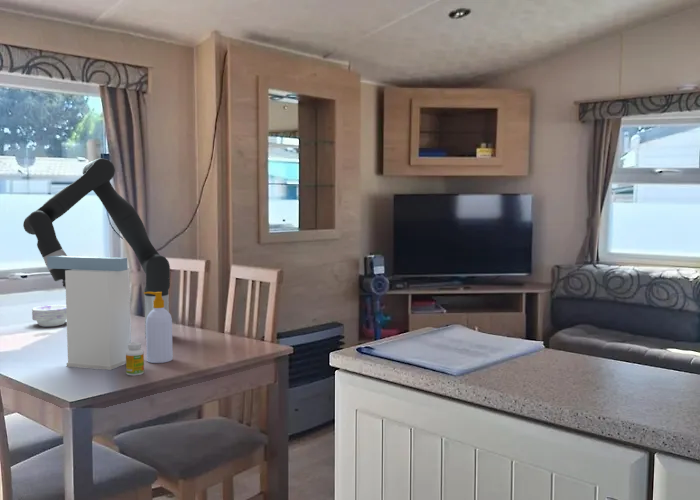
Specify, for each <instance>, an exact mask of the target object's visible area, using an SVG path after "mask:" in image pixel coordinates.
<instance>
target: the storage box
mask: <svg viewBox="0 0 700 500" xmlns="http://www.w3.org/2000/svg"><path fill="white" fill-rule="evenodd" d="M65 282H66V289H65V305H66V315H67V319H66V337H67V338H66V339H67V342H66V343H67V362H66V367H68V368H81V369H93V370H105V371H106V370H108V371H112V370H114V369H116V368H117V369H118V368H119V367H121V366H123V365H126V352H127V351H128V350H129V349H128V344H129V343H132V336H131V335H132V333H131V332H132V331H131V328H132V326H131V293H130V291H131V290H130V289H131V287H130V286H131V282H130V268H128V267H127V270H124V271H104V270H78V269H72V270H66V271H65Z"/></svg>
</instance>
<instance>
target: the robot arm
mask: <svg viewBox="0 0 700 500" xmlns="http://www.w3.org/2000/svg"><path fill="white" fill-rule="evenodd" d="M115 173H116V168H115V165H114V164H113V162H112V161H110V160H109V159H107V158H96V159H94V160H92V161H89V162H87V163H86V164H85V165H84V166H83V168H82V175H81V176H80V177H79V178H77V179H76V180H75V181H73V182H72V183H70V184H69V185H66V186H65V187H64V188H62V189H61V190H59V191H58V192H56V193H55V194H54V195H53V196H51V197H50V198H49V199H48V200H47V201H45V202H44V204H43V205H41V206H40V207H39V208H38V209H36V210H35V211H33V212H31V213H30V214H29V215H28V216H27V217H25V219H24V221H23V226H22V227H23V229H24V231H25V232H26V233H27V234H29V235H35V237H36V240H37V243H36V246H37V249H38V251H39V254H40V255H41V257H42V258H43V262H44V264H45V266H46V268H47V269H48V271H49V273H50V275H51V277H52V279H53V281H54V282H59V281H61V280H62V282H61V283H62V287H63V288H64V290H66V282H65V271H66V270H72V269H52V268H48V266H47V256H68V255H67V253H66V252H65V250H64V249H63V247H62V245H61V243H60V241H59V240H58V238H57V234H56V230H55V227H54V225H53V223H54V221H56V220H57V219H59V218H61V217H62V216H63V215H64V214H66V213H67V212H68V211H69V210H70V209H71V208H73V207H74V206H75V205H76V204H78V203H79V202H80V201H81V200H82V199H83V198H84V197H85V196H87V195H88V194H89V193H90V192H92V191H93V193H94V194H95V195H96V196H97V198H98V200H100V202H101V203H102V205H103V207H104V209H105V211H106V212H107V213H108V215H109V216H110V218H111V219H112V221H113V223H114V225H115V226H116V228H117V229H118V231H119V232H120V234H121V235H122V237H123V238H124V239H125V241H126V242H127V244H128V245H129V246H130V247H131V249H132V251H133V252H134V254H135V256H136V257H137V260H138V261H139V263H140V266H141V268H142V270H143V273H145V287H144V292H162V298H163V300H164V309H165V310H167V311H168V312H169V313H170V307H169V306H170V304H169V303H170V302H169V299H170V298H169V297H170V295H169V294H170V293H169V292H170V286H171V266H170V263H169V260H168V259H167V258H166V256H164V255H161V254H160V253H159V252H158V251H157V250H156V248H155V246H154V245H153V244H152V242H151V241H150V239H149V236H148V233H147V231H146V228H145V225H144V223H143V221H142V218H141V217H140V215H139V214H138V212H137V211H136V209H135V207H134V206H133V204H131V203H130V202H128V200H126V199H125V198H124V197H122V196H121V195H120V194H119V193H118V192H117V191H116V190H115V188H114V187H113V185H112V183H111V182H110V181H111V180H112V179H113V178H114V176H115ZM144 292H143V293H144ZM154 300H155V295H153V294H149V293H147V294H144V323H145V325H144V326H145V327H144V329H145V331H144V333H145V334H144V335H145V339H146V319H147V316H148V314H149V313H150V312H151V310H153V309H154V307H153V301H154Z"/></svg>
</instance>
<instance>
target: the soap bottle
mask: <svg viewBox="0 0 700 500" xmlns="http://www.w3.org/2000/svg"><path fill="white" fill-rule="evenodd" d="M147 293H149V294H153V295H155V300H154V301H153V307H154V309H153V310H151V312H150V313H149V314H148V316H147V319H146V338H145V339H146V341H145V342H146V361H147V362H148V363H150V364H151V363H152V364H163V363H168V362H171V361H172V360H173V358H174V357H173V354H174V353H173V319H172V314H171V313H170V311H169V312H168V311H167V310H165V309H164V300H163V298H162V292H143V294H144V295H145V294H147Z"/></svg>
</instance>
